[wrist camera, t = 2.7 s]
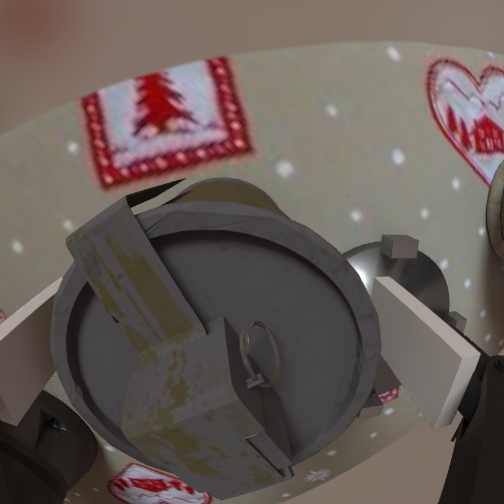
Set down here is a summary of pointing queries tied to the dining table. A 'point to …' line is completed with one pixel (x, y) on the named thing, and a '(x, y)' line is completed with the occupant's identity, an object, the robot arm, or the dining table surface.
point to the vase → (496, 212)
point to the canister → (213, 335)
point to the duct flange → (411, 279)
